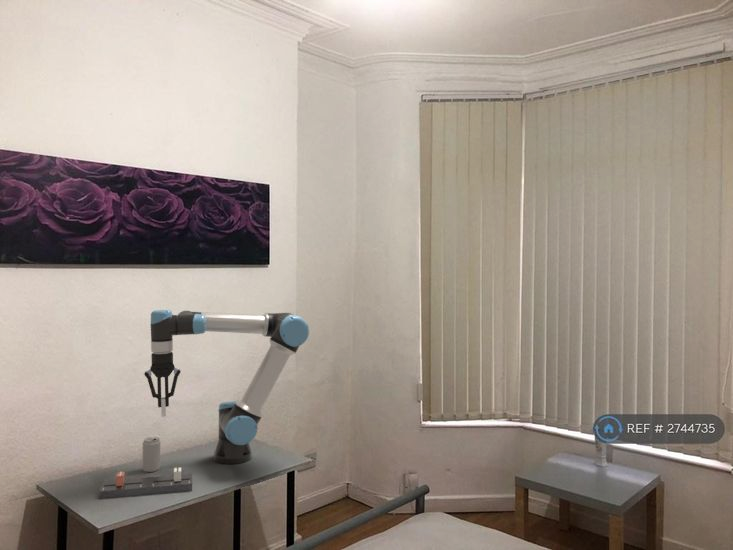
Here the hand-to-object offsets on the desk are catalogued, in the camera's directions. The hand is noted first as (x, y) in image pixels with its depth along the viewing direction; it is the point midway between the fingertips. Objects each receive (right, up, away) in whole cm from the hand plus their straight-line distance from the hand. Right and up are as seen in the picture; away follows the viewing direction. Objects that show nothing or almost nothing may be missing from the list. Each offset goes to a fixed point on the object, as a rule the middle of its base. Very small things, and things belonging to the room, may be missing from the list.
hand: (163, 415), depth 223 cm
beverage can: (-7, -23, +8) cm, 25 cm away
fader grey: (+8, -21, -8) cm, 24 cm away
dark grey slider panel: (-2, -23, -11) cm, 26 cm away
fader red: (-10, -21, -14) cm, 27 cm away
